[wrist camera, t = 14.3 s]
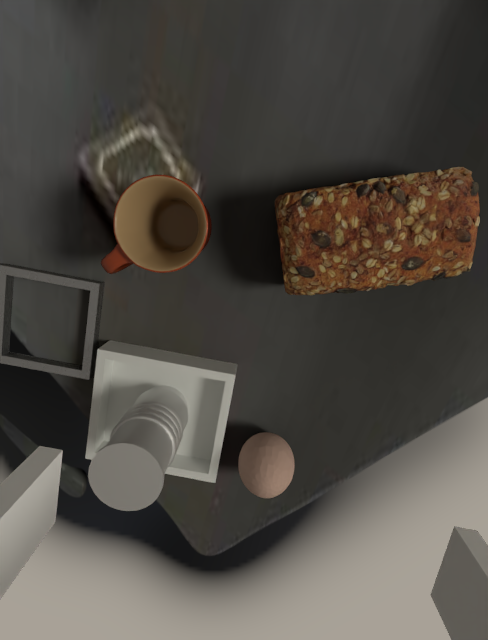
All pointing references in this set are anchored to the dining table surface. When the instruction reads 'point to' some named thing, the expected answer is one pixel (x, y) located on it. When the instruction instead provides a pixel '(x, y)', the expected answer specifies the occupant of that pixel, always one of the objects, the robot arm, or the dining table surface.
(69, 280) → the grey square frame
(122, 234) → the mug
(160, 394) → the grey tall round piece
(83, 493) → the dining table surface
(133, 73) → the dining table surface
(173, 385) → the bin
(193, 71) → the dining table surface
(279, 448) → the egg
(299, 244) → the bread
